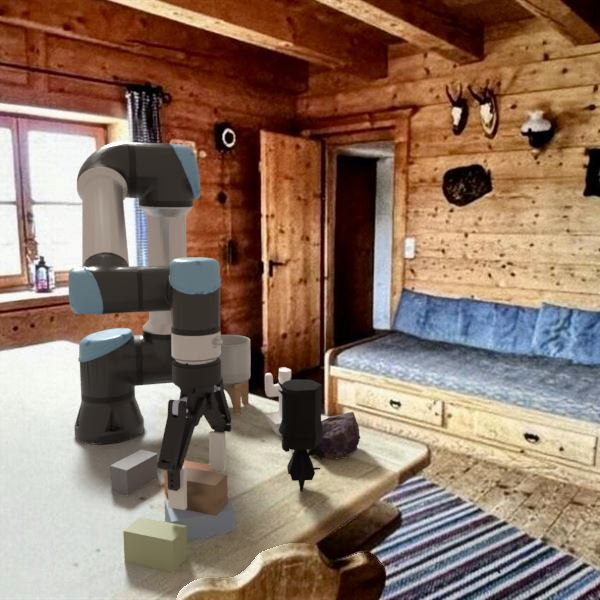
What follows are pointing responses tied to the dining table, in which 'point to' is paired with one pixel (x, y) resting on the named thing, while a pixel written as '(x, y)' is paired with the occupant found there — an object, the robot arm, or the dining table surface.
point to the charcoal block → (134, 472)
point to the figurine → (273, 391)
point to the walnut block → (206, 491)
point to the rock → (339, 436)
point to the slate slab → (202, 521)
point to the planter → (235, 368)
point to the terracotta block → (189, 465)
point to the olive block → (155, 544)
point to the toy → (301, 426)
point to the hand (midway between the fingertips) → (199, 486)
